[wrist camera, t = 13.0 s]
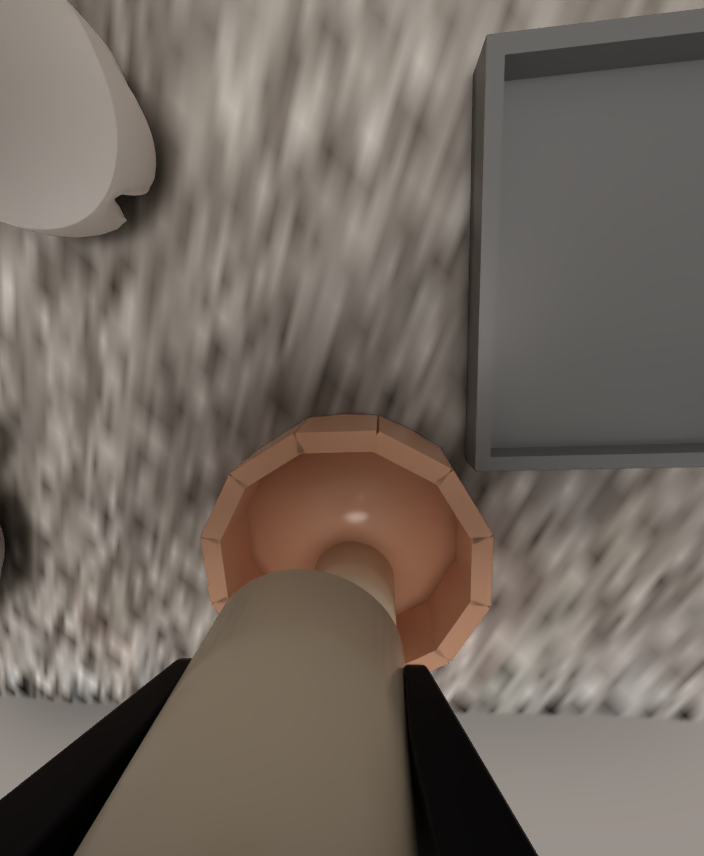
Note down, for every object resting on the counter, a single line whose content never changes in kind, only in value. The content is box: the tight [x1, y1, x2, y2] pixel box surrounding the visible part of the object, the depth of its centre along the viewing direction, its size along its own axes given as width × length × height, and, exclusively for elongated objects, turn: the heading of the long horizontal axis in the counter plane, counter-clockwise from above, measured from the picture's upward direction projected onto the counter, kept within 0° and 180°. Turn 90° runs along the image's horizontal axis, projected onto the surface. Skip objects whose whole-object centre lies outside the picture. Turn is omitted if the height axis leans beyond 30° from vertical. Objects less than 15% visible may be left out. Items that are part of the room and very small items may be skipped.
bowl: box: [201, 414, 494, 671], centre depth 16 cm, size 12×12×4 cm
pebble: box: [74, 569, 418, 856], centre depth 5 cm, size 4×4×4 cm
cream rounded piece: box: [314, 542, 396, 625], centre depth 16 cm, size 4×4×4 cm
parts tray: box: [465, 8, 704, 471], centre depth 14 cm, size 15×15×2 cm
